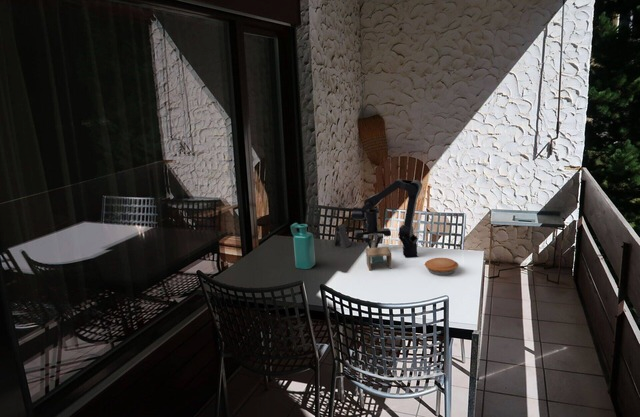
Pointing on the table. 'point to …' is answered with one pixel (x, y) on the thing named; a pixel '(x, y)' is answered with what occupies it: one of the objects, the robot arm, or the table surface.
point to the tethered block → (377, 258)
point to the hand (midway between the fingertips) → (373, 248)
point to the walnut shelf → (378, 252)
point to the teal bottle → (303, 246)
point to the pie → (441, 266)
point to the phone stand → (341, 237)
